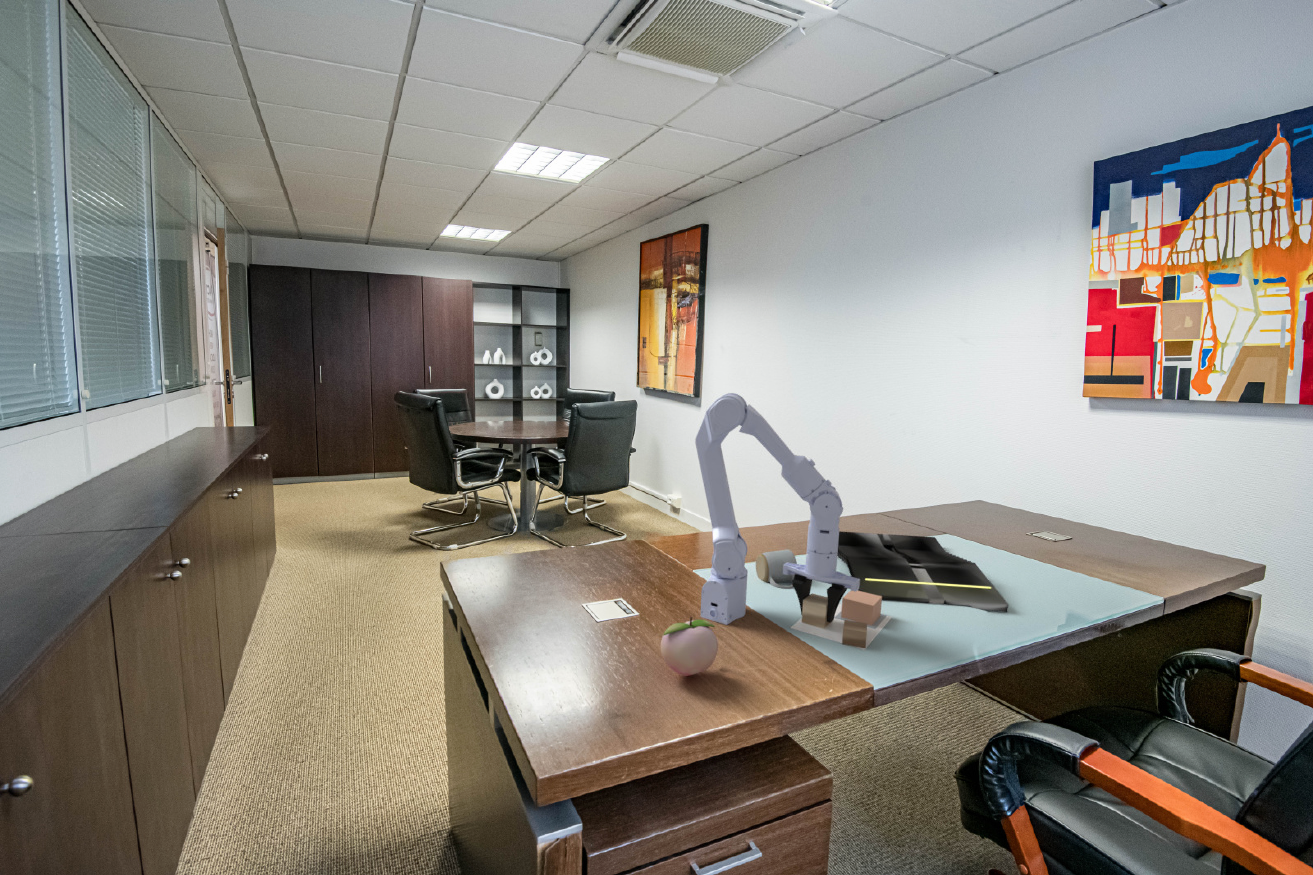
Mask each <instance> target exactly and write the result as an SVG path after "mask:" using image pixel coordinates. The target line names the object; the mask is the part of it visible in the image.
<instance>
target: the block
mask: <svg viewBox="0 0 1313 875" xmlns="http://www.w3.org/2000/svg"><path fill="white" fill-rule="evenodd" d="M866 635H867V623H861V622H855V621H849V620H844V627H843V637H842V643H841V644H842V645H845V646H849V647H853V646H854V647H853V648H857V647H860V648H866ZM860 648H859V649H860ZM866 649H867V648H866Z"/></svg>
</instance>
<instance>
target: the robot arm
mask: <svg viewBox="0 0 1313 875" xmlns="http://www.w3.org/2000/svg"><path fill="white" fill-rule="evenodd" d="M739 426H740V428H739V430H738V432H739V433H741V434H746V435H750V436H753V437H754V438H755V439H756V440H757V441H758V442H759V443H760V444H761V445H762V446H763V447H764V448H765V449H766V450H767V452H769V453H770V454H771V456H772V457H773V458H774V459H775V460H776V461H777V462H778V463H779V464H780V465H781V471H780V472H781V474H780V475H781V477H782V478H783V480H784V481H785V482H787V484H788V485H789V486H790V487H791V488H792V490H793V491H794V492H795V493H796V494H797V495H798V496H799V497H800V499H801V500H802V501H804V502H806V503H808V504H809V510H810V516H809V518H810V519H809V524H808V526H807V527H808V528H807V530H808V531H807V541H806V543H807V544H806V555H805V558H806V559H805V564H800V563H797V564H794V563H788V562H787V563H786V564H784V565H783V574H785V575H789V574H790V575H794V579H793V580H792V581H791V585H793V589H794V591H795V593H796V596H797V599H798V602H799V608H800V613H801V614H800V615H801V616H802V610H803V600H804V599H805V598H807V597H808V596H809V595H810V594H811V589H812V582H813V581H814V582H815V581H816V582H819V583H822V584H823V583H824V584H827V585H828V584H829V585H830V586H829V587H828V588H827V589H826V594H827V596H826V597H828V609H827V622H829V623H831V622H832V621H833V620H834V616H835V613H836V610H837V607H838V605H839V603H840V602H841V601H842V598H843V597H844V596H845V594H846V592H847V590H848V589H849V590H850V591H855V592H856V591H858V589H859V585H860V579H858V578H854V577H851V575H848V574H845V573H844V572H843V573H842V572H840V571H837V566H838V565H837V564H838V556H837V554H838V541H839V531H840V521H841V520H840V519H841V518H840V517H841V515H842V514H843V511H844V507H843V503H842V502H843V501H842V499H841V496H840V494H839V493H838V491H837V490H836V489H837V488H836V487H835V486H833V484H832V482H831V481H830V479H827V480H826V479H825V478H824V476H823V475H822V474H821V473H820V471H818V469H817V468H816V467H815V465H816V463H815V461H814V460H813V459H812V458H809V459H808V458H807V457H806V456H805V455H797V454H794V453H793V452H792V450H791V449H790V448H789V447H788V446H787V444H786V443H785V442H784V441H783V439H782V438H781V437H780V436H779V435H778V433H777V432H776V431H775V430H774V428H773V427H772V426H771V425H770V424H769V422H768V420H766V419H765V418H764V416H763V415H762V414H761V413H760V412H758V410H756V409H755V408H754V407H753V406H752V405H751V404H748V403H747V401H746V400H745V399H744V397H743V396H741V395H740V394H738V393H733V392H728V393H725V394H723V395H722V396H720V397H718V398H717V399H715V401H713V403H712V404H711V405H710V406H709V407H708V408H707V409H706V411H705V414H704V417H703V419H702V422H701V423H700V427H699V429H698V431H697V434H696V436H695V439H694V440H695V447H696V452H697V453H696V454H697V458H698V462H699V468H700V472H701V473H700V474H701V478H702V483H703V487H704V493H705V497H706V498H705V499H706V502H707V503H706V504H707V508H708V513H709V517H710V518H709V519H710V523H711V527H712V528H711V529H712V546H713V553H712V556H711V565H712V566H711V568H710V576H709V578H708V579H707V581H706V582H705V583H704V584H703V586H702V587H701V594H700V596H701V597H700V615H699V616H700V618H703V619H705V620H706V619H707V620H708V621H709V620H710V621H713V622H715V623H718V624H719V623H720V624H723V625H726V626H728V625H729V624H731V623H732V622H733V621H735V620H737V619H741V618H743V617H745V616H746V609H747V607H746V605H747V589H748V586H747V585H748V571H749V570H748V569H747V568H746V566H745V563H746V556H747V554H748V544H747V542H746V540H745V539H744V538H743V537H742V535H741V533H740V527H739V525H738V523H737V520H736V516H735V510H734V505H733V500H732V495H731V490H730V485H729V479H728V475H727V468H726V464H725V460H724V455H723V449H722V443H723V442H724V440H725V439H726V437H727V436H728V435H729V433H731V432H733V430H735V429H736V428H737V427H739Z"/></svg>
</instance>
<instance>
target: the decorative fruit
mask: <svg viewBox="0 0 1313 875" xmlns="http://www.w3.org/2000/svg"><path fill="white" fill-rule="evenodd" d="M710 627H712V628H716V626H715V625H714V624H713V623H712V622H710V621H709V620H706V619H694V620H693V617H692V616H690V617H689V621H685V622H675V623H673V624H671V625H670V626H668V627H667V629H665V631H664V633H663V634H662V637H661V639H660V640H661V641H660V652H661V656H662V659H663V660H664V662H665V663H666V665H667V666H668V668H670V669H671V670H672V671H673V672H675V673H676V674H679V675H682V676H687V677H690V676H692V675H696V674H698V673H701V672H704V671H706V670H707V669H709V668H710V667H711V666H712V665H713V663H714V662H715V659H716V658H717V654H718V651H719V650H718V648H719V643H718V642H719V641H718V638H717V636H716V635H715V633H714V631H713V630H712V628H710Z"/></svg>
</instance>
